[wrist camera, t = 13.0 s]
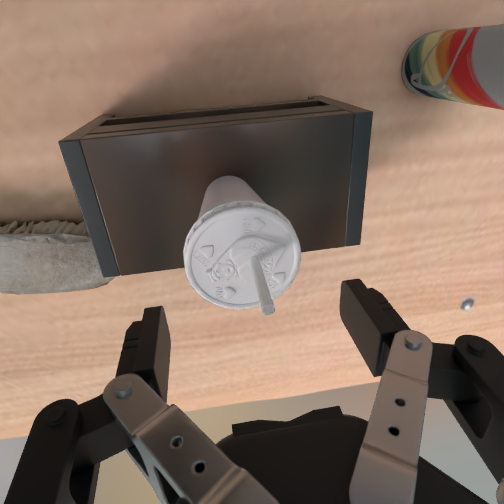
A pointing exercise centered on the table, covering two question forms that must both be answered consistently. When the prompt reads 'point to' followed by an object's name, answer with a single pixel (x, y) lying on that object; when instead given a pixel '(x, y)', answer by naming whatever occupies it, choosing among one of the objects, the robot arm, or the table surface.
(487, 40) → the lotion bottle
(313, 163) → the box
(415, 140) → the table surface
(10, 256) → the shoe brush
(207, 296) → the smoothie
